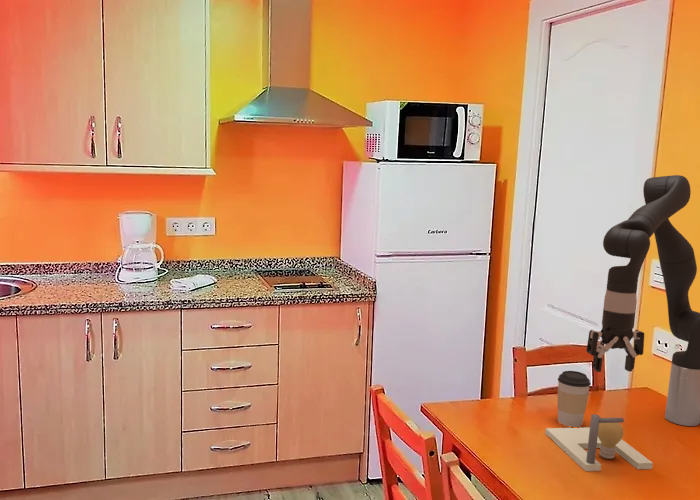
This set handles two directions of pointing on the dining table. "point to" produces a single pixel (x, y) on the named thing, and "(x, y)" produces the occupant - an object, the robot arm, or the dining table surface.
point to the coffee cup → (572, 397)
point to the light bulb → (609, 438)
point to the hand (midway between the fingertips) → (612, 370)
